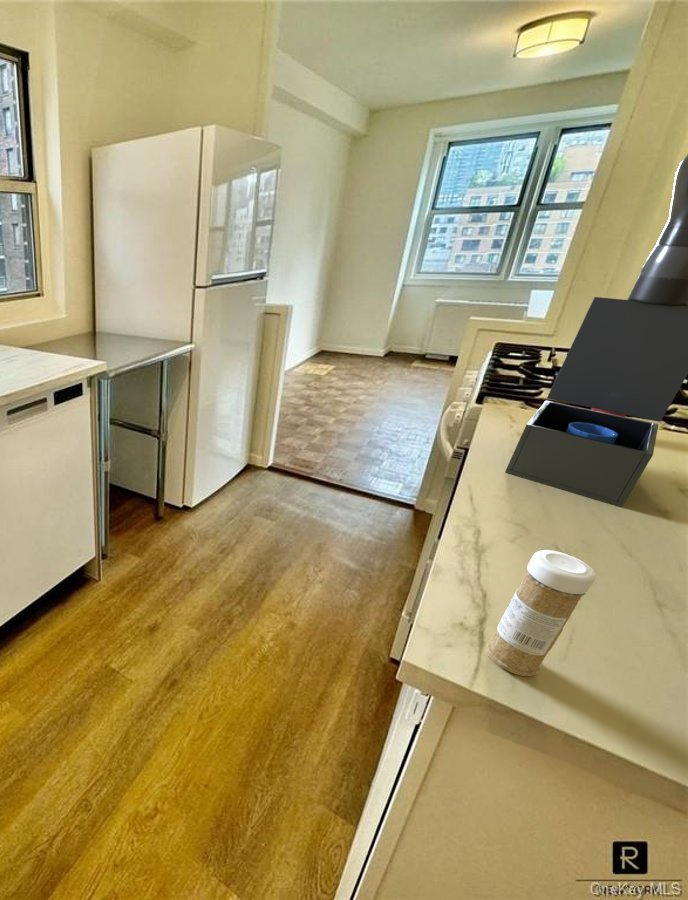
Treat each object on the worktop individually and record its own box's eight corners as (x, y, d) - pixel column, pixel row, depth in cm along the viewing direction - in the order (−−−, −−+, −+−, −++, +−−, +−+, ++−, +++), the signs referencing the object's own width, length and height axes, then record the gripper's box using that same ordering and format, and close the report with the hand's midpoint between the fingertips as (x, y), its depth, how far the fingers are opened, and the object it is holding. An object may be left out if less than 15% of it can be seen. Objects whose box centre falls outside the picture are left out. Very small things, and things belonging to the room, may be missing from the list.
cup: (594, 467, 90) (616, 428, 87) (596, 480, 86) (619, 440, 82) (550, 457, 94) (568, 419, 90) (549, 468, 90) (569, 429, 86)
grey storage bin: (621, 507, 80) (653, 454, 75) (504, 472, 90) (526, 424, 86) (630, 471, 91) (658, 423, 86) (525, 444, 101) (545, 400, 97)
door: (725, 309, 78) (724, 309, 79) (594, 296, 89) (594, 296, 89) (660, 421, 86) (660, 421, 86) (546, 398, 96) (547, 397, 97)
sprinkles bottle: (543, 664, 52) (604, 567, 46) (528, 685, 50) (590, 586, 44) (492, 636, 55) (543, 542, 49) (476, 655, 53) (527, 558, 47)
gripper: (731, 276, 80) (674, 376, 88) (620, 269, 89) (577, 360, 97) (732, 280, 76) (672, 385, 83) (615, 272, 85) (571, 368, 92)
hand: (621, 371), depth 90 cm, fingers closed
